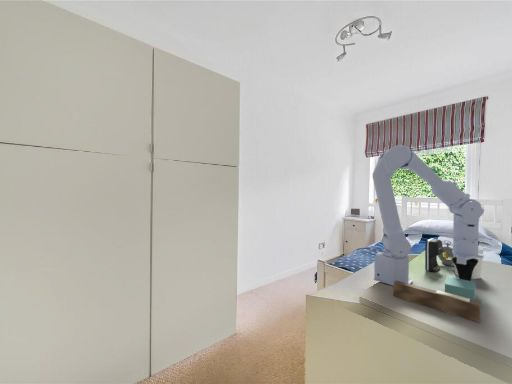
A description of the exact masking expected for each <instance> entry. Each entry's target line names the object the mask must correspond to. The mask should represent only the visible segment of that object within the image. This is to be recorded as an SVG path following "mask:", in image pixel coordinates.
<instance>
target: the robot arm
mask: <svg viewBox="0 0 512 384" xmlns="http://www.w3.org/2000/svg"><path fill="white" fill-rule="evenodd" d="M398 169H403V170H409V171H412V172H413V173H414V174H415V175H416V176H418V177H419V178H421V179H422V180H423V181H424V182H426V183H427V184H428V185H429V186H431V193H432V194H433V195H434V196H435V197H437V198H438V199H439V200H440V201H441V202H442V203H443V204H444V205H445V206H447V207H448V209H449V211H450V213H451V214H453V225H452V227H453V231H452V232H453V233H452V234H453V236H452V238H453V239H452V240H453V241H452V248H453V250H452V253H453V254H454V255H455V256H456V257H453V258H451V259H452V260H453V262H454V264H455V266H456V268H457V271H458V275H457V277H458V279H462V280H467V281H472V279H471V277H472V273H473V270H474V267H475V266H476V265H477V263H478V259H474V258H478V257H480V258H483V259H484V258H485V257H484V256H485V255H484V253H483V254H479V253H478V247H479V222H480V217H482V216H483V214H484V212H485V209H484V208H483V206H482V204H481V202H480V201H478V200H476V199H472V198H471V195H470V194H469V193H465V192H464V191H463V190H462V189H461V188H459V187H458V183H457V182H456V181H451V180H449V179H442V178H441V177H440V176H439V175H438V174H437V173H435V171H434V170H432V169H431V167H429V166H428V165H427V164H426V163H425V161H423V160H422V159H421V158H420V157H419V155H417V154H416V153H415V152H414V151H412V150H410V148H408V147H407V146H405V145H404V144H398V145H394V146H392V147H391V148H389V149H386V150H385V151H384V152H383V153H382V154H381V155H380V156H379V157H378V160H377V163H376V166H375V168H374V170H373V172H372V180H373V185H374V190H375V194H376V199H377V204H378V207H379V212H380V217H381V221H382V233H383V234H382V235H383V236H382V239H381V243H382V246H383V247H384V249H383V251H378V252H377V253H376V254H375V256H374V276H373V277H374V278H373V280H374V281H376V282H379V283H384V284H387V285H390V286H393V287H394V281H396V280H397V281H401V282H405V283H408V284H413V282H414V281H413V279H410V278H409V276H410V275H409V267H410V265H409V264H410V263H409V261H410V260H409V255H410V254H411V251H412V245H411V243H410V241H408V239H407V237H406V234H405V231H404V230H403V228H402V226H401V221H400V216H399V212H398V208H397V202H396V199H395V198H396V197H395V194H394V189H393V185H392V179H391V177H392V176H393V175H394V174H395V173H396V171H397V170H398ZM455 266H454V267H455Z"/></svg>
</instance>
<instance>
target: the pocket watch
mask: <svg viewBox="0 0 512 384" xmlns="http://www.w3.org/2000/svg"><path fill="white" fill-rule="evenodd" d="M443 243H444V244H445V245H446V246H445V245H444V246H443V252H442V254H440V255H438V256H437V258H438V259H439V260H440V261H441V263H442V264H443V265H447V266H450V267H455V266H454V262H453V260H452V258H453V253H452V250H453V247H451V246H450V245H452V242H451V241H450V240H447V242H446V240H444V241H443Z"/></svg>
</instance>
